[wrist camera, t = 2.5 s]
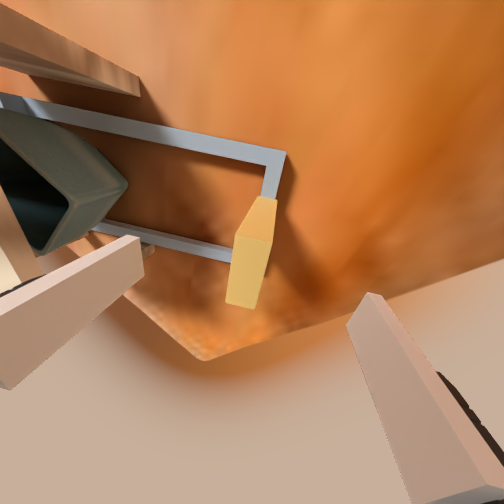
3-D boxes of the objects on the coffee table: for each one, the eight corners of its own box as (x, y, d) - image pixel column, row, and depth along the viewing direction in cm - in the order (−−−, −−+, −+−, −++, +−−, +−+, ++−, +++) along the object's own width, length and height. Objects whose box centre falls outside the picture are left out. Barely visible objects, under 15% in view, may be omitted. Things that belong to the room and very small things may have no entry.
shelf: (20, 53, 17) (-546, -163, 6) (138, 76, 17) (-205, -106, 5) (78, 232, 27) (-86, 295, 15) (155, 251, 26) (49, 331, 14)
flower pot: (57, 171, 23) (-61, 181, 15) (86, 116, 19) (-48, 90, 11) (116, 226, 25) (41, 258, 18) (151, 185, 22) (77, 203, 14)
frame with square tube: (22, 96, 19) (-296, 27, 9) (288, 152, 18) (297, 150, 7) (65, 218, 26) (-85, 263, 15) (260, 265, 24) (244, 348, 14)
